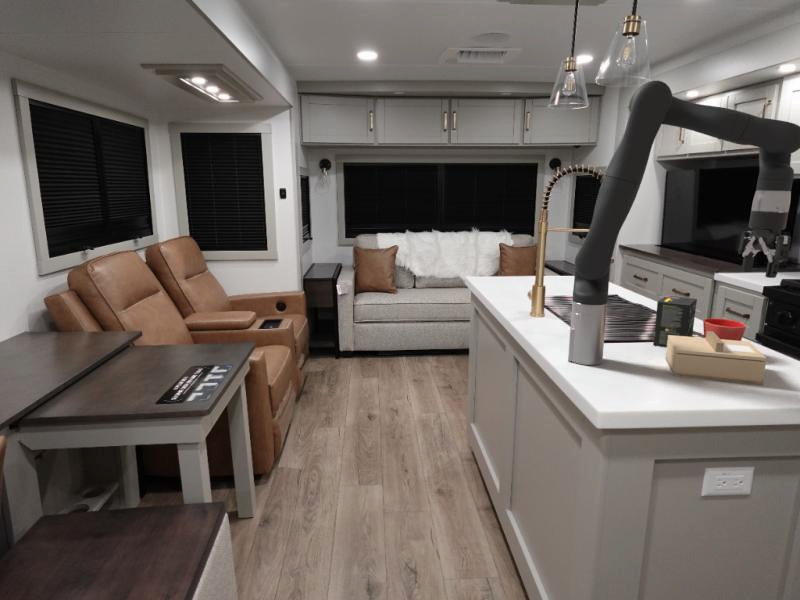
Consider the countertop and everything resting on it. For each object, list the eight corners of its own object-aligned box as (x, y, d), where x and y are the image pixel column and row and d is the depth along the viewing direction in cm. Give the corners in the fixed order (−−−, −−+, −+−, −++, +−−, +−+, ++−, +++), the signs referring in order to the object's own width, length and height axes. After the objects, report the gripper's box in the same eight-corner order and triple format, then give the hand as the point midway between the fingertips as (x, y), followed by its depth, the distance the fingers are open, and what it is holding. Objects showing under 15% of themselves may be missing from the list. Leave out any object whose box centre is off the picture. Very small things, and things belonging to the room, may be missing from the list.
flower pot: (733, 349, 157) (738, 319, 155) (747, 361, 147) (751, 328, 145) (695, 347, 160) (699, 316, 158) (705, 357, 149) (709, 325, 147)
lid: (676, 352, 134) (677, 340, 133) (667, 337, 148) (669, 326, 147) (766, 361, 127) (768, 348, 126) (748, 344, 141) (750, 333, 140)
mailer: (673, 375, 135) (676, 353, 134) (665, 358, 149) (667, 338, 148) (762, 384, 128) (766, 362, 127) (745, 366, 142) (748, 345, 141)
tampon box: (660, 338, 170) (665, 294, 167) (692, 343, 164) (697, 298, 161) (652, 345, 161) (656, 300, 158) (684, 351, 156) (690, 304, 153)
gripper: (735, 208, 133) (725, 269, 137) (776, 210, 119) (763, 279, 123) (764, 208, 133) (753, 270, 137) (807, 211, 119) (794, 280, 123)
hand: (758, 274), depth 130 cm, fingers open, 8 cm apart
